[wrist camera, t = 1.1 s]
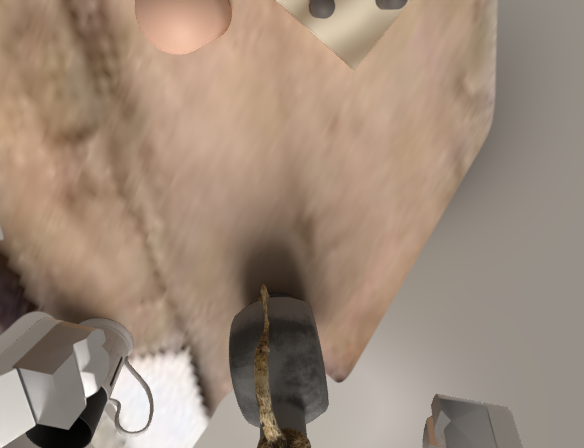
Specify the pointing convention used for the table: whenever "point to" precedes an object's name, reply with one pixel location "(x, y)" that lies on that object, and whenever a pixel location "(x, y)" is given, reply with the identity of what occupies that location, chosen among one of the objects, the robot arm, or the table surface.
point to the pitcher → (278, 369)
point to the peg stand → (346, 23)
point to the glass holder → (96, 394)
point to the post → (182, 22)
